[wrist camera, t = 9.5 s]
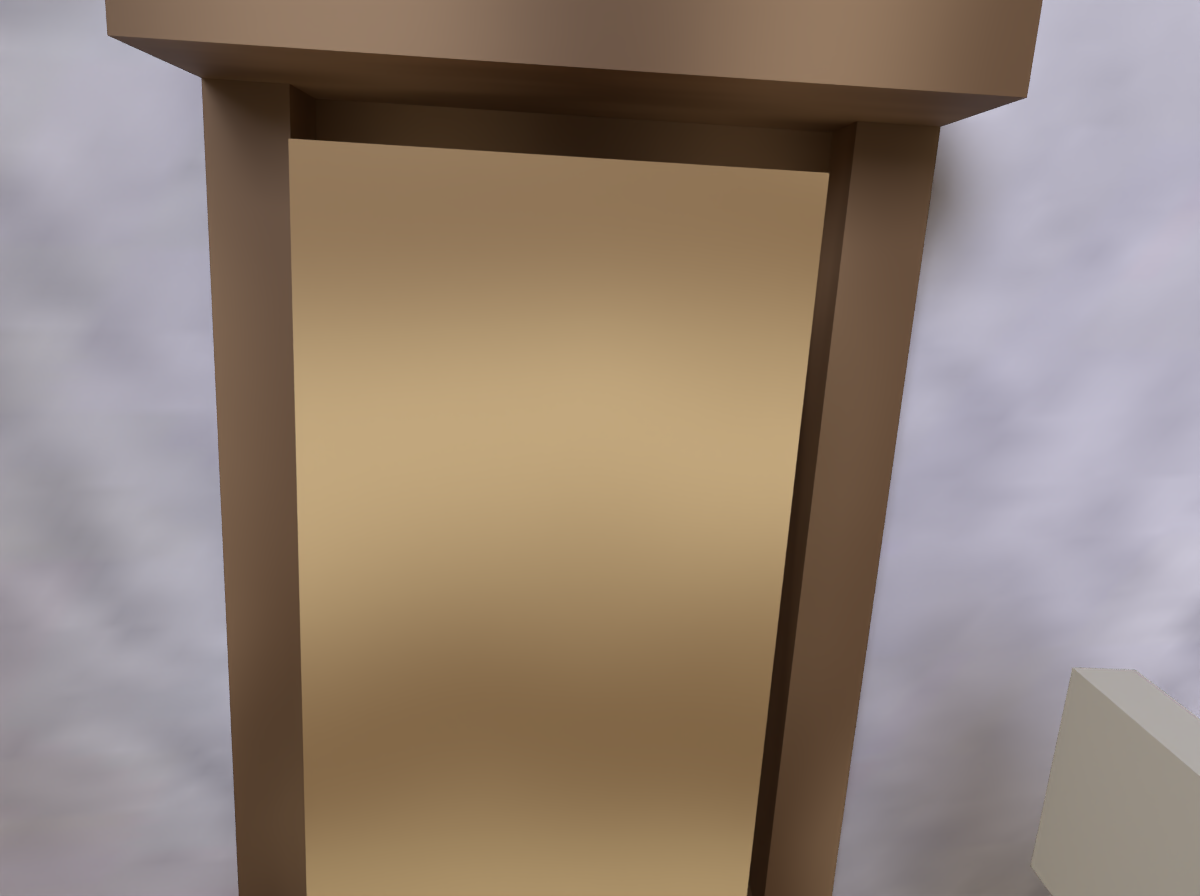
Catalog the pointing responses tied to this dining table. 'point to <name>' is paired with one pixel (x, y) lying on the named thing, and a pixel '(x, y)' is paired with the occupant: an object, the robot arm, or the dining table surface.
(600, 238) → the plank
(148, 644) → the dining table surface
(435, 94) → the peg frame
